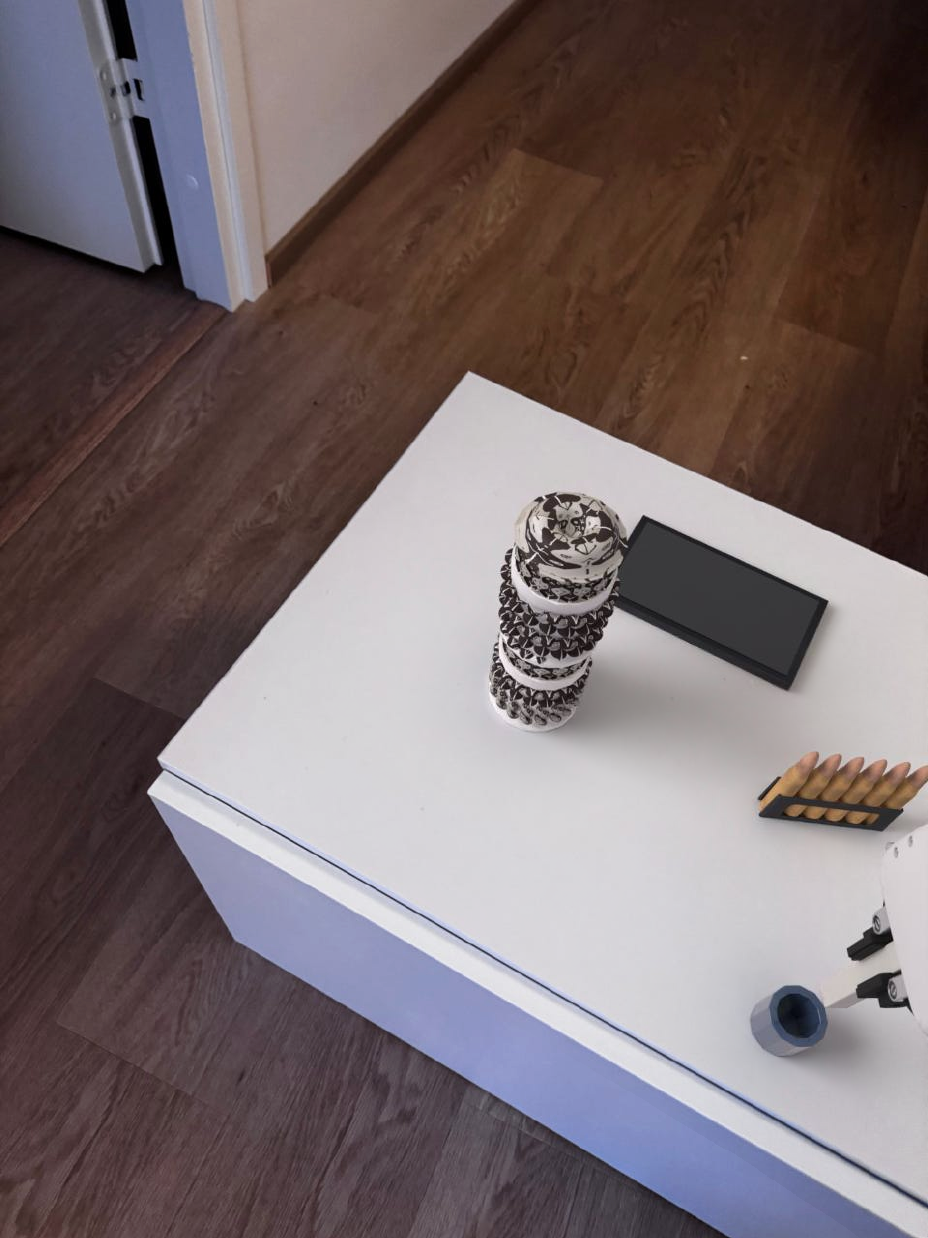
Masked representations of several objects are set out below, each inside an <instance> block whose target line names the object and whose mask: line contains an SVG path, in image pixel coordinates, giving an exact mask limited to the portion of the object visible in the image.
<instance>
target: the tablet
mask: <svg viewBox="0 0 928 1238" xmlns="http://www.w3.org/2000/svg"><path fill="white" fill-rule="evenodd" d="M627 546H628V548H627V550H626V552H625V555H624V557H623V559H622V562H621V564H620V565H619V566H618V567H617V568H618V573H617V577H618V578H619V580H620V588H619V589H618V590H617V591H618V593H619V598H618V600H617V602H616V603H614V604H612V605H613V607H614V608H617V609H620V610H622V611H623V612H626V613H628V614H630V615H632V616H634V617H636V618H638V619H640V620H641V621H644V622H646V623H648V624H650V625H652V626H654V627H656V628H658V629H660V630H661V631H664V632H666V633H668V634H670V635H672V636H675V637H676V638H679V639H681V640H683V641H685V642H686V643H689V644H690V645H692V646H695V647H697V648H700V649H701V650H702V651H705V652H707V653H709V654H711V655H713V656H715V657H717V658H719V659H721V660H724V661H725V662H728V663H729V664H731V665H733V666H735V667H737V668H740V669H742V670H744V671H746V672H748V673H750V674H752V675H754V676H756V677H758V678H760V679H762V680H764V681H766V682H768V683H770V684H772V685H774V686H776V687H778V688H781V689H783V690H785V691H787V692H788V691H789V690H790V688H791V687H792V686H793V683H794V681H795V679H796V676H797V675H798V672H799V670H800V667H801V665H802V664H803V661H804V658H805V656H806V654H807V653H808V652H807V651H808V649H809V648H810V645H811V643H812V641H813V638H814V636H815V634H816V632H817V629H818V627H819V625H820V622H821V620H822V618H823V616H824V613H825V611H826V609H827V607H828V603H829V602H830V601H829V600H828V599H826V598H824V597H822V596H819V595H817V594H815V593H813V592H811V591H809V590H807V589H804V588H802V587H800V586H798V585H796V584H794V583H791V582H790V581H788V580H785V579H783V578H780V577H779V576H776V575H774V574H772V573H770V572H768V571H765V570H764V569H761V568H759V567H757V566H755V565H753V564H750V563H748V562H746V561H745V560H742V559H739V558H738V557H735V556H734V555H731V554H729V553H727V552H725V551H722V550H720V549H719V548H717V547H714V546H711V545H709V544H707V543H705V542H704V541H701V540H699V539H697V538H695V537H692V536H690V535H687V534H685V533H683V532H681V531H679V530H677V529H675V528H672V527H670V526H668V525H666V524H664V523H662V522H660V521H657V520H655V519H654V518H651V517H649V516H647V515H645V514H642V516H641V517H640V519H639V521H638V522H637V524H636V526H635V527H634V528H633V530H632V532H631V534H630V535H629V537H628V538H627ZM606 602H607V600H606Z"/></svg>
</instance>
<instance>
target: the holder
mask: <svg viewBox="0 0 928 1238" xmlns="http://www.w3.org/2000/svg"><path fill="white" fill-rule="evenodd" d="M749 1020H750V1029H751V1032H752V1033H751V1034H752V1035H753V1037H754V1039H755V1041H756V1042H757V1044H758V1045H759V1046H760V1047H761V1048H762V1049H763V1050H765V1051H766V1052H767V1053H769V1054H771V1055H774V1056H775V1057H792V1056H794V1055H797V1054H799V1053H801V1052H804V1051H806V1050H808V1049H810V1048H812V1047H814V1046H816V1044H819V1042H820V1041H822V1040H824V1038H825V1035H826V1032H827V1028H828V1025H829V1020H828V1017H827V1011H826V1008H825V1007H824V1003H822V1001H821V999H819V997H818V995H816V993H815V992H813V991H812V990H810V989H808V988H806V987H804V986H802V985H800V984H799V985H798V984H794V985H793V984H792V985H791V984H788V985H787V984H786V985H783V986H782V987H780V988H778V989H776V990H775V991H774V992H771V993H770V994H769V995H768V996H766V997H765V998H763V999H761V1000H760V1001H759V1002H757V1003H756V1004H755V1005H754V1007H753V1009H752V1012H751V1015H750V1019H749Z"/></svg>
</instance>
